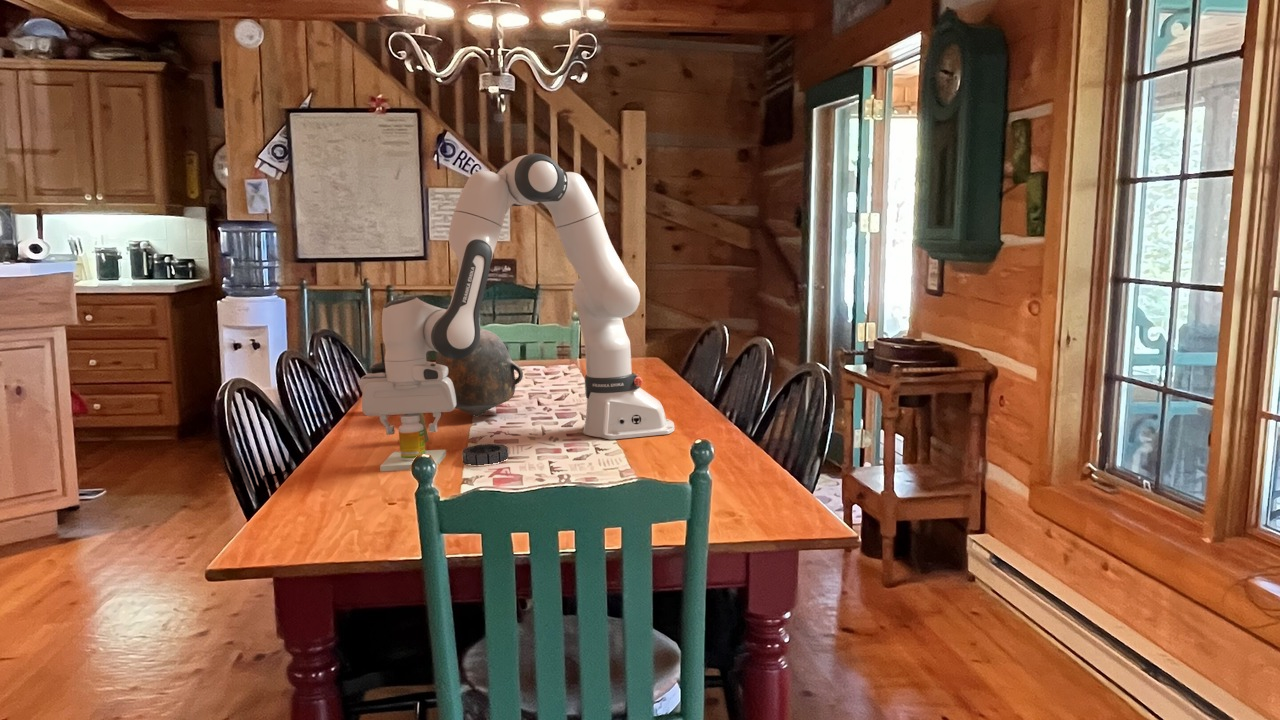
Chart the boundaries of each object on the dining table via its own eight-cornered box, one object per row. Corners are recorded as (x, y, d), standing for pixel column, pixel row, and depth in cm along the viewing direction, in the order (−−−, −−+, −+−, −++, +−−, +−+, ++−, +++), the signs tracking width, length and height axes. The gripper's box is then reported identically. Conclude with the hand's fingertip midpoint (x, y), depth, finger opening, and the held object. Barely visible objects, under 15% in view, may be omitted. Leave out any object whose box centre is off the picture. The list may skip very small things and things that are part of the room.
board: (446, 454, 209) (445, 449, 209) (436, 468, 198) (435, 463, 197) (393, 457, 209) (393, 452, 209) (380, 471, 197) (380, 466, 197)
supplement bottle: (425, 460, 200) (421, 416, 199) (400, 462, 200) (396, 418, 198) (426, 454, 206) (423, 411, 204) (402, 456, 205) (398, 413, 203)
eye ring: (510, 453, 208) (509, 442, 207) (505, 464, 198) (504, 453, 198) (467, 455, 208) (466, 445, 207) (460, 467, 198) (459, 456, 197)
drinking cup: (407, 411, 261) (401, 341, 258) (386, 416, 255) (380, 345, 252) (388, 409, 266) (382, 341, 262) (368, 414, 259) (361, 344, 256)
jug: (512, 404, 264) (505, 301, 260) (530, 418, 244) (522, 306, 240) (426, 414, 256) (417, 307, 251) (437, 429, 236) (428, 313, 231)
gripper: (354, 376, 197) (360, 438, 199) (450, 371, 197) (455, 433, 199) (362, 371, 203) (368, 432, 205) (455, 366, 204) (459, 427, 206)
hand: (412, 433), depth 202 cm, fingers open, 8 cm apart
